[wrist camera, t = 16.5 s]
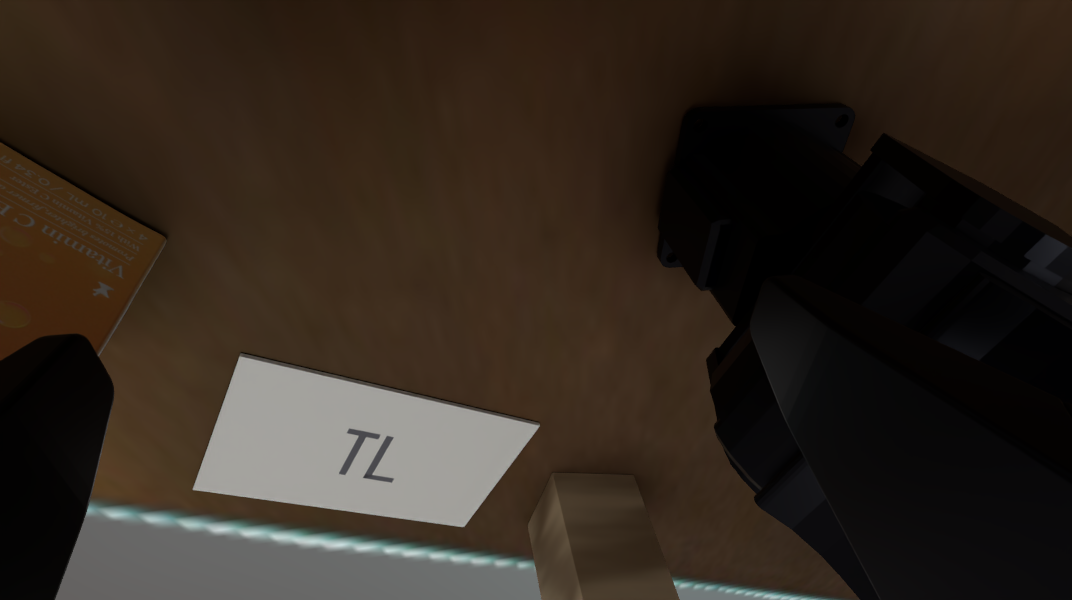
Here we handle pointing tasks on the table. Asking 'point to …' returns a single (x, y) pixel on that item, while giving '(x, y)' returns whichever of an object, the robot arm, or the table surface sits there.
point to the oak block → (597, 541)
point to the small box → (64, 258)
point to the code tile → (355, 445)
